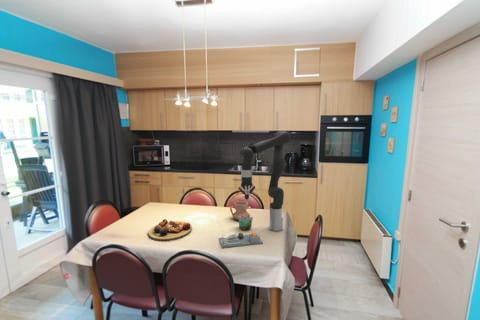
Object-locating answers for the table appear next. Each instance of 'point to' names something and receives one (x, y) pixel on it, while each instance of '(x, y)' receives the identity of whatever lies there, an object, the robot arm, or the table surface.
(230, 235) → the cream rocker
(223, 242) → the grey slider knob
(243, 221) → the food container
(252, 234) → the orange plunger
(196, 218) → the table surface
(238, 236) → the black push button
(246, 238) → the panel
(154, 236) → the wooden plate with food
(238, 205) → the ceramic jug
